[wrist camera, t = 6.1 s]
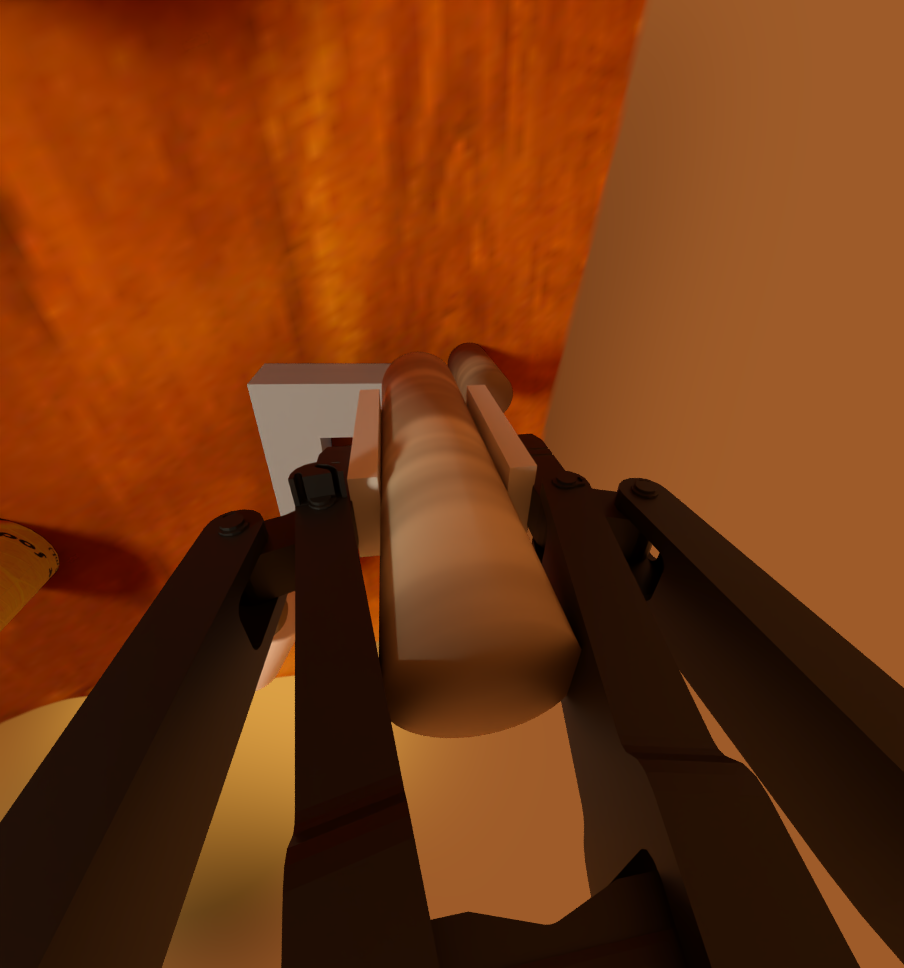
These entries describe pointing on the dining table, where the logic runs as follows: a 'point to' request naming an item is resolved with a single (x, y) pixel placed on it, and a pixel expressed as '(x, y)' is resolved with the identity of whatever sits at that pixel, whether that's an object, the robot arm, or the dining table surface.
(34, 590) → the yellow food can
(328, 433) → the hole block
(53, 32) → the dining table surface
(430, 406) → the long pin
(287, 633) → the mug
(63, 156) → the dining table surface
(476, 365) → the short pin
